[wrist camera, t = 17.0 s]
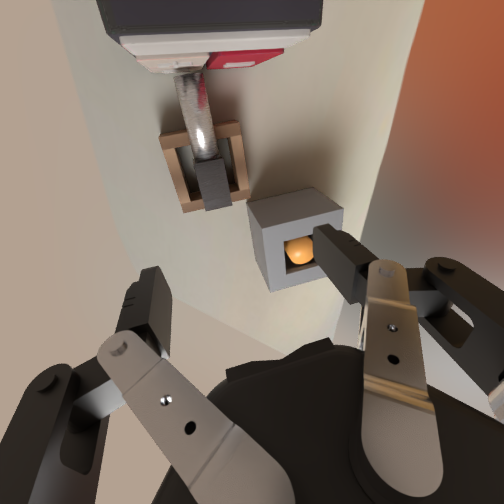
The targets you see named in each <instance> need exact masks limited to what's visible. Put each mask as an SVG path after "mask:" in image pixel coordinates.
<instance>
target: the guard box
mask: <svg viewBox="0 0 504 504" xmlns="http://www.w3.org/2000/svg"><path fill="white" fill-rule="evenodd" d="M246 204H247V210H248V216H249V222H250V229H251V235H252V241H253V247H254V253H255V259H256V262H257V264H258V266H259V268H260V271H261V273H262V275H263V277H264V280H265V282H266V284H267V286H268V289H269V291H270V293H271V292H274V291H278V290H281V289H285V288H288V287H292V286H296V285H299V284H303V283H306V282H310V281H313V280H317V279H320V278H324V277H328V276H327V275H326V274H325V273H324V271H323V270H322V269H321V268H320V266H319V265H318V264H317V263H316V261H315V259H314V257H313V258H312V259H311V260H310V261H308V262H306V263H304V264H296V263H294V262H292V260H291V259H290V257H289V256H288V254H287V253H286V251H285V250H284V241H288V240H291V239H295V238H299V237H303V236H307V235H308V237H309V238H310V239H311V240H312V241H313V228H314V227H315V226H319V225H323V224H327V223H329V224H330V225H331V226H333V227H334V228H335V229H336V230H341V231H342V223H343V212H344V208H342V207H341V206H339V205H338V204H337V203H335V202H334V201H332V200H331V199H329V198H328V197H326V196H325V195H324V194H322V193H321V192H319V191H318V190H316V189H315V188H314V187H312V188H308V189H304V190H299V191H295V192H291V193H286V194H282V195H278V196H273V197H269V198H265V199H261V200H256V201H252V202H248V203H246Z"/></svg>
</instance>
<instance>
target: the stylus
mask: <svg viewBox="0 0 504 504" xmlns="http://www.w3.org/2000/svg"><path fill="white" fill-rule="evenodd" d="M173 79H174V83H175V87H176V91H177V94H178V98H179V102H180V106H181V110H182V114H183V118H184V121H185V125H186V129H187V133H188V137H189V141H190V144H191V148H192V152H193V156H194V159H193V165H194V169H195V173H196V176H197V180H198V184H199V188H200V191H201V195H202V199H203V203H204V206H205V210H206V211H209V210H214V209H218V208H223V207H227V206H232V200H231V195H230V190H229V185H228V180H227V175H226V170H225V165H224V160H223V157H222V156H221V155H220V153H219V151H218V146H217V141H216V136H215V131H214V127H213V122H212V117H211V112H210V107H209V102H208V97H207V92H206V87H205V82H204V77H203V73H192V74H185V75H180V76H176V77H174V78H173Z"/></svg>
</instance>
